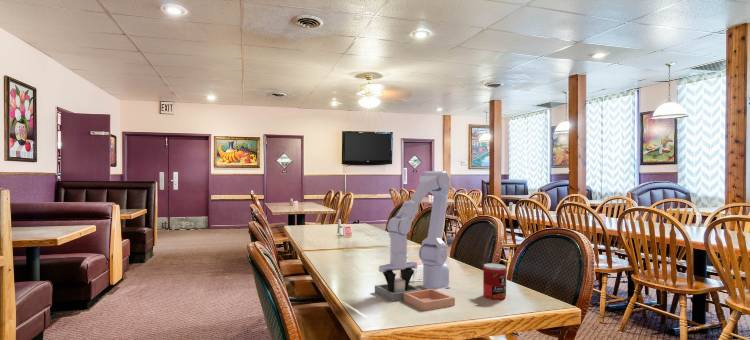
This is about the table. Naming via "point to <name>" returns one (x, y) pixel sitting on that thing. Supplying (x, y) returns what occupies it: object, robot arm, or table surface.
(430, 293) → the dump bin
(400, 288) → the white rounded cylinder
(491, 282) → the canned food
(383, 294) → the bin
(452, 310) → the table surface
